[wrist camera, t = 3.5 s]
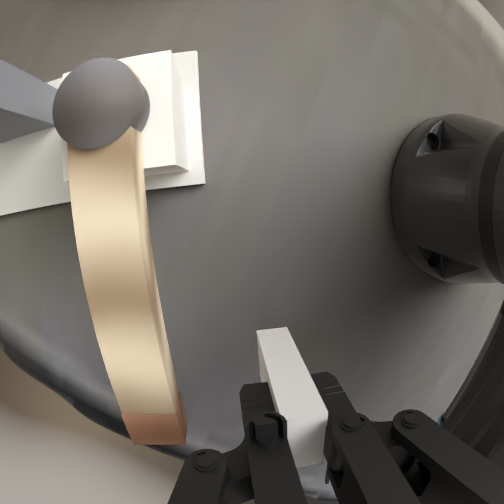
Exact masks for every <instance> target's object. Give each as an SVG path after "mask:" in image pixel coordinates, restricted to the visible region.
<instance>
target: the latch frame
mask: <svg viewBox="0 0 504 504" xmlns="http://www.w3.org/2000/svg"><path fill="white" fill-rule="evenodd" d="M118 60H119V61H121V62H123V63H125V64H126V65H127V66H128V65H130V67H131V68H132V69H133V70H134V72H135V73H136V74H137V76H138V77H139V78H140V82H141V83H142V85H143V86H144V87H145V89H146V91H147V93H148V95H149V100H150V113H149V117H148V121H147V123H146V125H145V127H144V129H143V131H142V132H141V135H142V152H143V167H144V180H145V190H152V189H160V188H168V187H177V186H186V185H196V184H206V182H205V170H204V156H203V142H202V128H201V111H200V94H199V74H198V54H197V51H189V52H180V53H173V54H172V53H171V50H169V51H162V52H155V53H149V54H143V55H138V56H133V57H128V58H123V59H118ZM69 73H70V72H68V73H65V74H63V78H59V79H56V80H53V81H50V82H47V83H45V82H43V81H41V80H40V79H38V78H36V77H34V76H32V75H30V74H28V73H26V72H24V71H22V70H20V69H19V68H17V67H15V66H13V65H11V64H9V63H7V62H5V61H3V60H1V59H0V216H1V215H6V214H10V213H15V212H19V211H24V210H29V209H34V208H39V207H44V206H50V205H55V204H60V203H66V202H71V197H70V186H69V173H68V156H67V142H66V141H64V140H63V139H62V138H61V137H60V135H59V134H58V132H57V131H56V128H55V126H54V123H53V117H52V108H53V102H54V98H55V95H56V92H57V90H58V88H59V86H60V84H61V83H62V81H63V80H64V79H65V78H66V76H67V75H68V74H69Z"/></svg>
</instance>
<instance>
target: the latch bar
mask: <svg viewBox="0 0 504 504" xmlns="http://www.w3.org/2000/svg"><path fill="white" fill-rule="evenodd" d="M149 113H150V100H149V95H148V93H147V91H146V89H145V87H144V86H143V85H142V83H141V82H140V78H139V77H138V76H137V74H136V73H135V72H134V70H133V69H132V68H131V67H130V65H128V66H127V65H126V64H125V63H123V62H121V61H119V60H117V59H113V58H106V57H104V58H96V59H92V60H89V61H86V62H84V63H82V64H81V65H79V66H77V67H76V68H75V69H73V70H72V71H71V72H70V73H69V74H68V75H67V76H66V78H65V79H64V80H63V81H62V83H61V84H60V86H59V88H58V90H57V92H56V95H55V98H54V102H53V108H52V117H53V123H54V126H55V128H56V131H57V132H58V134H59V135H60V137H61V138H62V139H63V140H64V141H66V142H67V156H68V173H69V186H70V197H71V206H72V215H73V223H74V230H75V237H76V244H77V250H78V256H79V261H80V267H81V272H82V277H83V282H84V287H85V292H86V296H87V301H88V305H89V309H90V313H91V317H92V321H93V325H94V329H95V333H96V336H97V340H98V343H99V347H100V350H101V354H102V357H103V360H104V364H105V367H106V370H107V373H108V376H109V379H110V382H111V385H112V388H113V391H114V394H115V396H116V399H117V402H118V405H119V407H120V410H121V412H122V413H121V416H122V418H123V421H124V423H125V426H126V428H127V431H128V433H129V435H130V438H131V440H132V442H133V444H145V445H185V443H186V431H187V418H186V414H185V410H184V406H183V402H182V398H181V394H180V391H179V390H178V386H177V382H176V377H175V373H174V369H173V364H172V360H171V355H170V350H169V345H168V341H167V336H166V330H165V325H164V320H163V315H162V309H161V303H160V298H159V292H158V285H157V279H156V273H155V266H154V259H153V252H152V244H151V237H150V229H149V220H148V211H147V201H146V191H145V180H144V167H143V152H142V135H141V132H142V131H143V129H144V127H145V125H146V123H147V121H148V117H149Z"/></svg>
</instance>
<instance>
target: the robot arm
mask: <svg viewBox="0 0 504 504" xmlns="http://www.w3.org/2000/svg"><path fill="white" fill-rule="evenodd" d="M391 208H392V216H393V221H394V225H395V229H396V233H397V235H398V238H399V240H400V243H401V245H402V247H403V249H404V251H405V252H406V254H407V255H408V257H409V258H410V259H411V260H412V262H413V263H414V264H415V265H416V266H417V267H419V268H420V269H421V270H423V271H424V272H426V273H428V274H430V275H432V276H434V277H436V278H438V279H440V280H442V281H445V282H449V283H455V284H467V283H496V282H499V283H502V284H504V126H501V125H498V124H495V123H492V122H489V121H486V120H482V119H479V118H476V117H472V116H468V115H464V114H449V115H444V116H440V117H435V118H432V119H429V120H427V121H425V122H423V123H422V124H420V125H419V126H418V127H416V128H415V129H414V130H413V131H412V132H411V134H410V135H409V136H408V137H407V139H406V140H405V142H404V144H403V146H402V147H401V150H400V152H399V154H398V157H397V160H396V163H395V167H394V171H393V176H392V184H391ZM256 332H257V345H258V358H259V371H260V379H261V383H254V384H246V385H243V387H242V389H241V391H240V401H241V409H242V417H243V424H244V431H245V438H244V440H243V442H242V443H241V445H240V446H238V447H237V448H236V449H234V450H231V451H229V452H226V453H223V454H222V453H220V452H219V451H216V450H212V449H202V450H198V451H195V452H193V453H192V454H190V455H189V456H188V457H187V459H186V460H185V462H184V465H183V467H182V470H181V472H180V475H179V477H178V480H177V482H176V484H175V487H174V489H173V492H172V494H171V497H170V499H169V502H168V504H241V503H243V502H246V501H248V500H251V499H255V504H307V501H306V498H305V495H304V492H303V488H302V485H301V482H300V478H299V475H298V472H297V469H296V468H300V467H305V466H310V465H315V464H320V463H323V460H324V455H325V458H326V460H327V463H328V464H327V471H326V478H325V483H326V484H329V479H330V482H331V484H332V487H333V489H334V492H335V494H336V497H337V499H338V502H339V504H504V301H503V303H502V306H501V308H500V310H499V312H498V315H497V317H496V319H495V322H494V324H493V326H492V328H491V330H490V333H489V335H488V337H487V339H486V341H485V343H484V345H483V347H482V349H481V351H480V353H479V355H478V357H477V359H476V361H475V363H474V365H473V367H472V368H471V370H470V372H469V374H468V376H467V377H466V379H465V381H464V383H463V384H462V386H461V388H460V389H459V391H458V393H457V394H456V396H455V398H454V399H453V401H452V402H451V404H450V406H449V407H448V409H447V410H446V412H444V413H442V414H441V416H440V417H439V419H438V420H437V422H435V421H434V420H432V419H431V418H430V417H428V416H427V415H425V414H424V413H422V412H420V411H418V410H412V409H411V410H404V411H401V412H399V413H397V414H396V415H395V416H394V419H393V421H387V422H373V421H370V420H369V419H368V418H367V417H366V416H364V415H362V414H360V413H357V412H356V411H355V409H354V407H353V406H352V404H351V402H350V401H349V399H348V397H347V396H346V394H345V392H343V389H342V387H341V386H340V384H339V382H338V381H337V379H336V377H334V376H333V375H331V374H330V373H328V372H321V373H316V374H309V372H308V370H307V367H306V365H305V363H304V361H303V359H302V357H301V355H300V353H299V351H298V349H297V347H296V345H295V343H294V341H293V339H292V337H291V335H290V332H289V330H288V328H287V327H282V328H274V329H266V330H257V331H256Z"/></svg>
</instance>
